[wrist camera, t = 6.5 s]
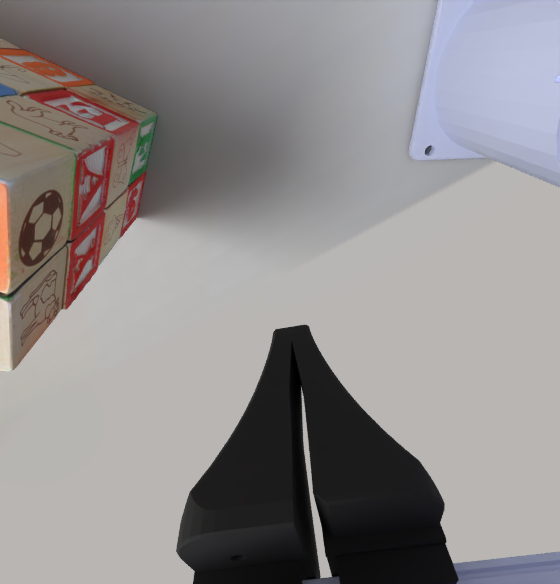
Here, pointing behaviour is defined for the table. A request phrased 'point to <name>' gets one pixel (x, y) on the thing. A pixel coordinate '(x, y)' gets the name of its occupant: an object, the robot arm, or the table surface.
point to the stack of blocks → (60, 189)
